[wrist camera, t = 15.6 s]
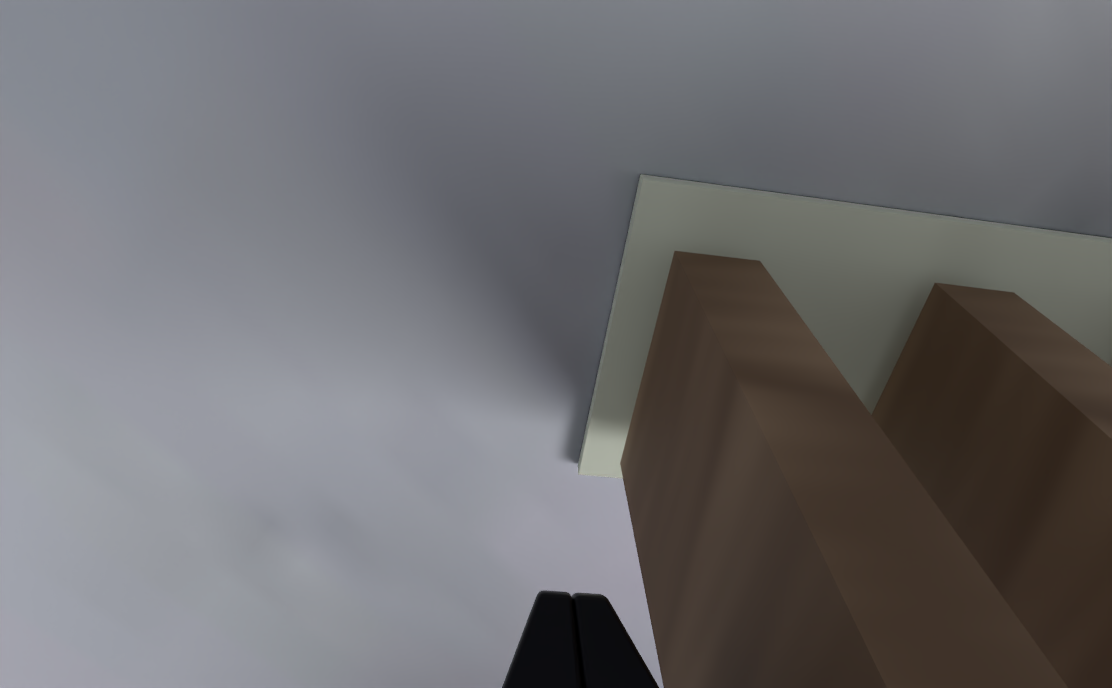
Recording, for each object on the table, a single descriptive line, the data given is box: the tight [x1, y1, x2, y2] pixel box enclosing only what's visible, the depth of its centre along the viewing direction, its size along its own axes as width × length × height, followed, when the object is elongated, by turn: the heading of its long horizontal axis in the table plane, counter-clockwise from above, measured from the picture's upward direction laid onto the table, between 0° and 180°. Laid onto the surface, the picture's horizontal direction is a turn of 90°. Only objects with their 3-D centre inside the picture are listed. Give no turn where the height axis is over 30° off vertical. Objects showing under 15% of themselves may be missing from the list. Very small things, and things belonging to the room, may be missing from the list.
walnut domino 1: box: [620, 251, 1068, 688], centre depth 10 cm, size 2×5×9 cm, turn 172°
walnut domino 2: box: [872, 283, 1112, 688], centre depth 10 cm, size 2×5×9 cm, turn 172°
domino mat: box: [578, 174, 1112, 478], centre depth 15 cm, size 23×7×1 cm, turn 82°
